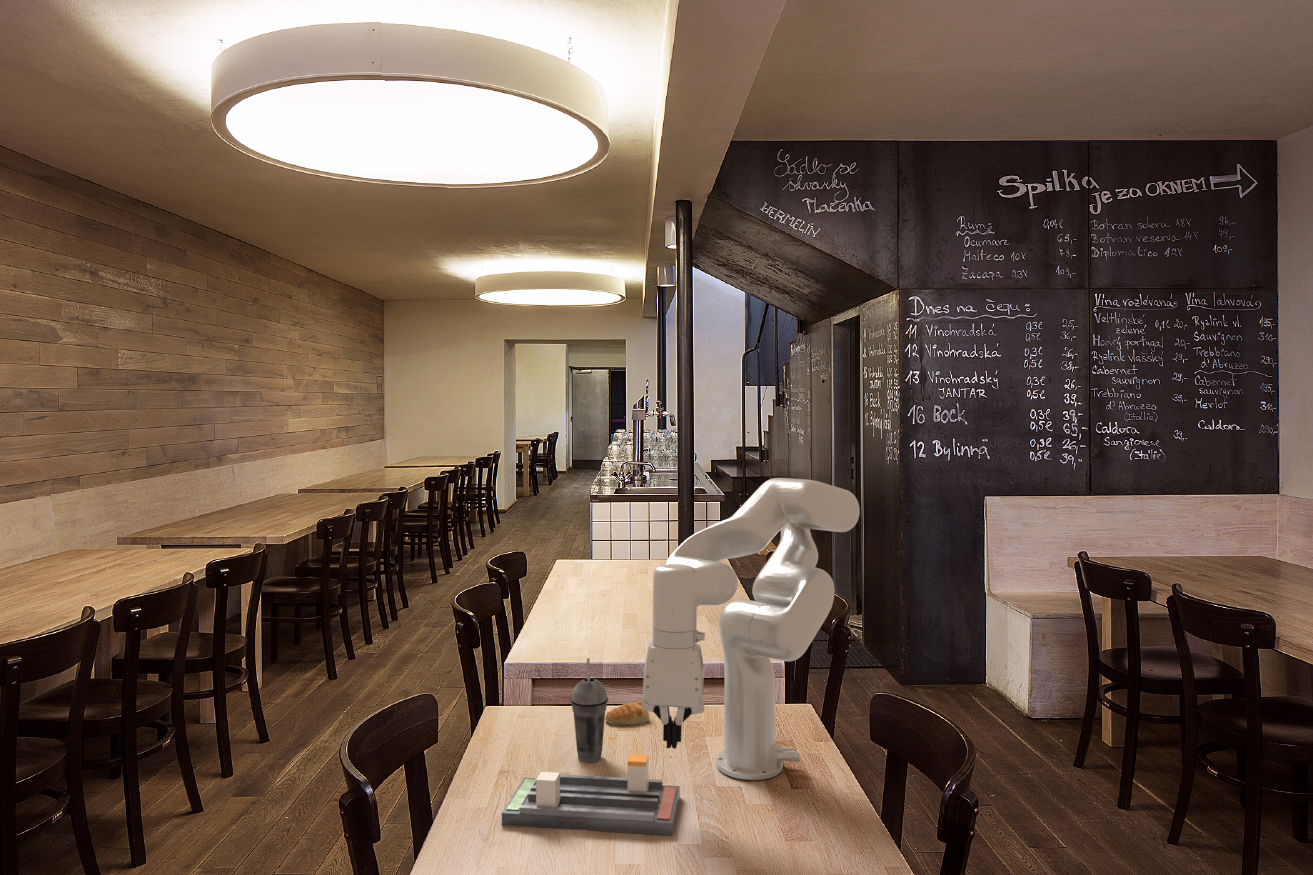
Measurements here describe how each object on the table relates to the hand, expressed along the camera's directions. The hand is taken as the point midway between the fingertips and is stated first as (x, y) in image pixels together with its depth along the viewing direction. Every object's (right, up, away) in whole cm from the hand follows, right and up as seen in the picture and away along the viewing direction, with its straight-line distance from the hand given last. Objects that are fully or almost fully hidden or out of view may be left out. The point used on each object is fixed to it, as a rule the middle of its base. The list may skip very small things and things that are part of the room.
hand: (672, 745), depth 137 cm
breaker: (-21, -9, -4) cm, 23 cm away
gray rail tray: (-13, -11, -1) cm, 17 cm away
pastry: (-9, -10, +40) cm, 42 cm away
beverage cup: (-16, -10, +20) cm, 27 cm away
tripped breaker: (-6, -9, +2) cm, 10 cm away
